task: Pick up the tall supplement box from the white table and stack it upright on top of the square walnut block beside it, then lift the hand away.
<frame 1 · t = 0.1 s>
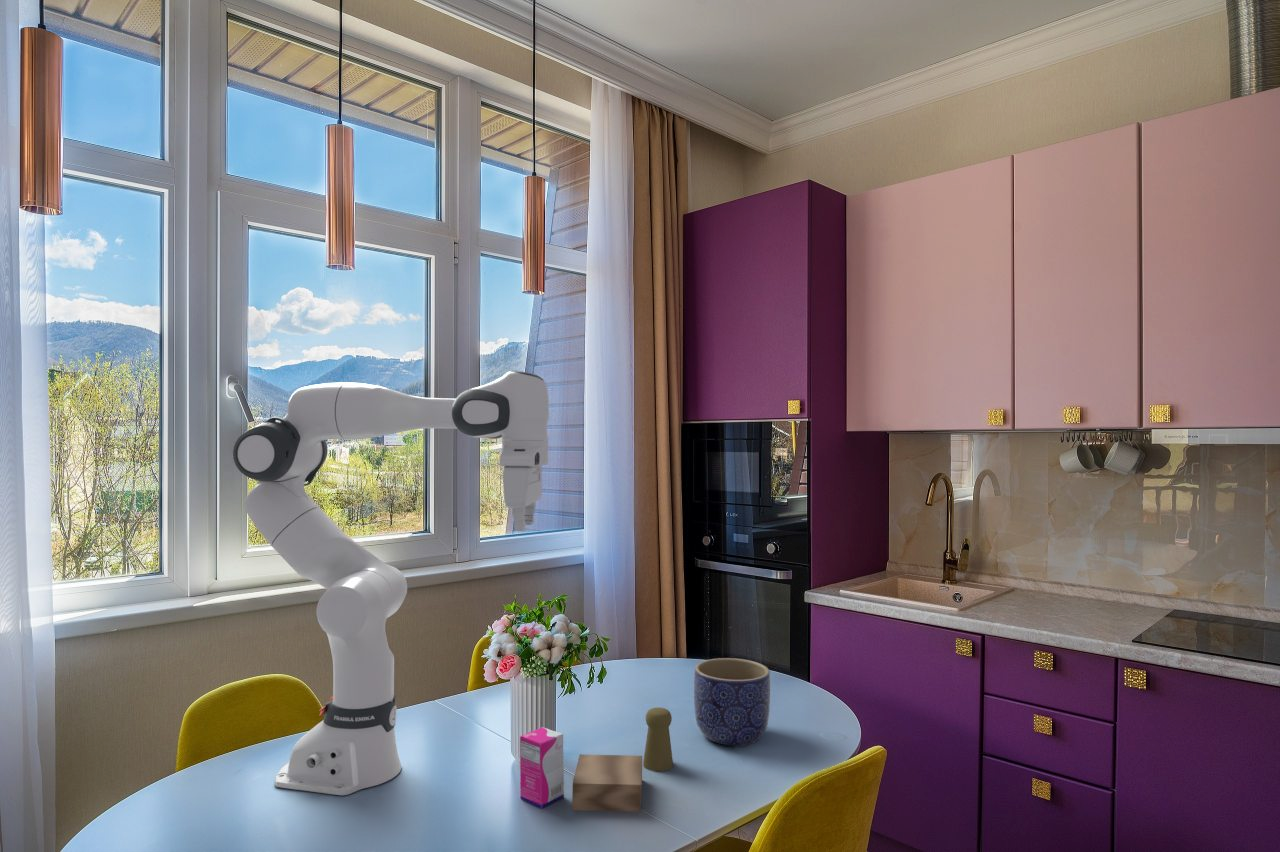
hand: (524, 527, 146), 48 cm above the table, tool pointing down, fingers open, 8 cm apart
olive pawn: (658, 765, 152), on the table
supplement box: (541, 799, 137), on the table
walnut block: (608, 796, 139), on the table
planter: (731, 737, 166), on the table
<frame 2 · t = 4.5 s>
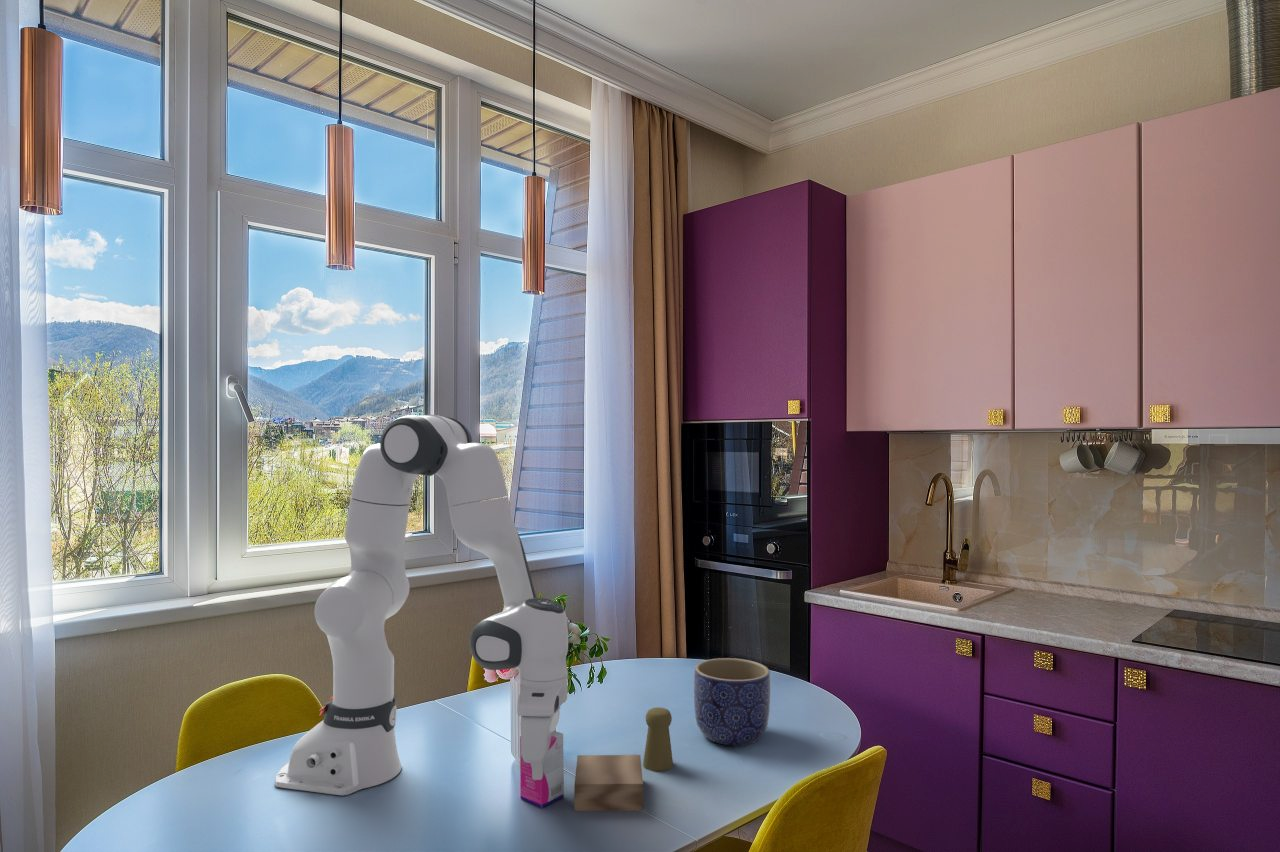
hand: (542, 766, 137), 6 cm above the table, tool pointing down, fingers closed on supplement box, 8 cm apart
supplement box: (541, 798, 137), on the table, touching gripper
everything else where it was.
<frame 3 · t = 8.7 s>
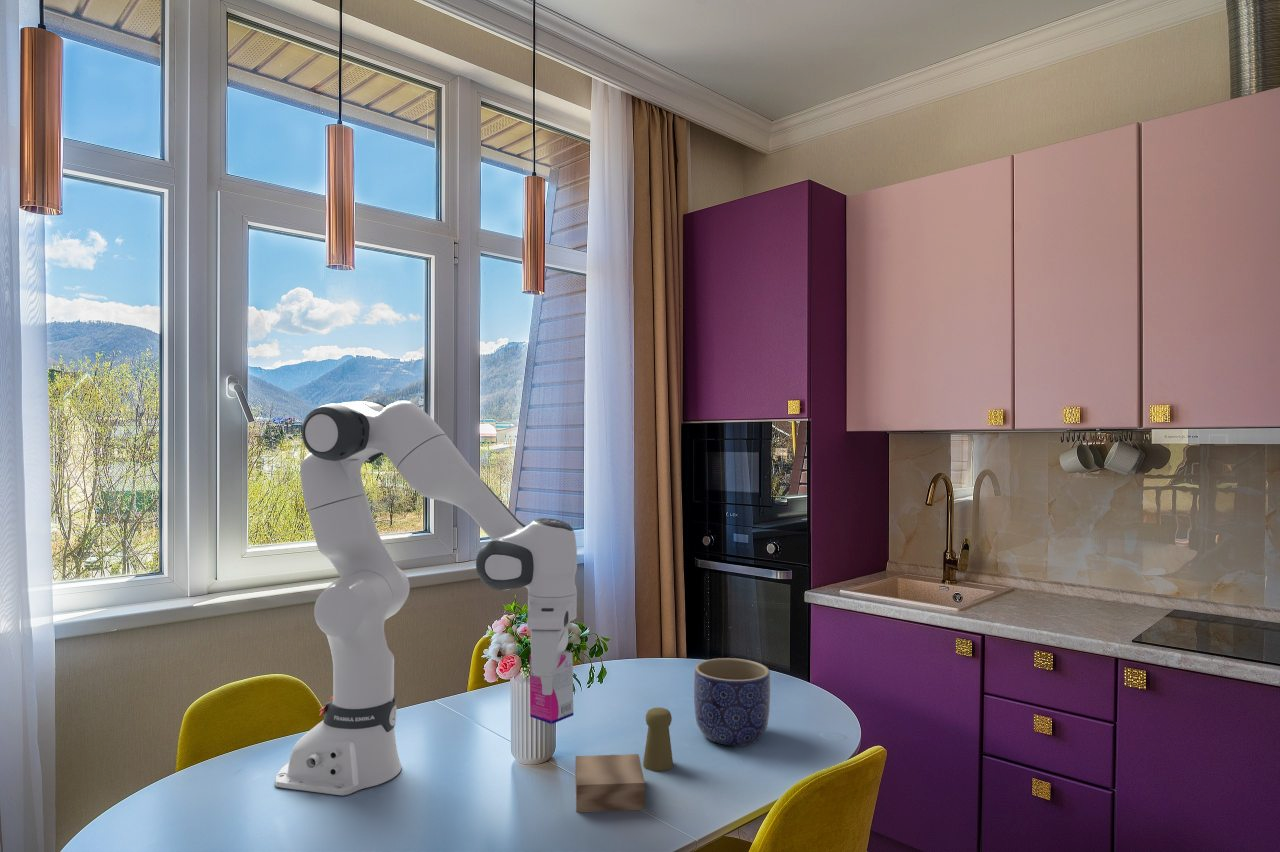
hand: (551, 685, 138), 20 cm above the table, tool pointing down, fingers closed on supplement box, 8 cm apart
supplement box: (551, 717, 138), point 14 cm above the table, touching gripper
everything else where it was.
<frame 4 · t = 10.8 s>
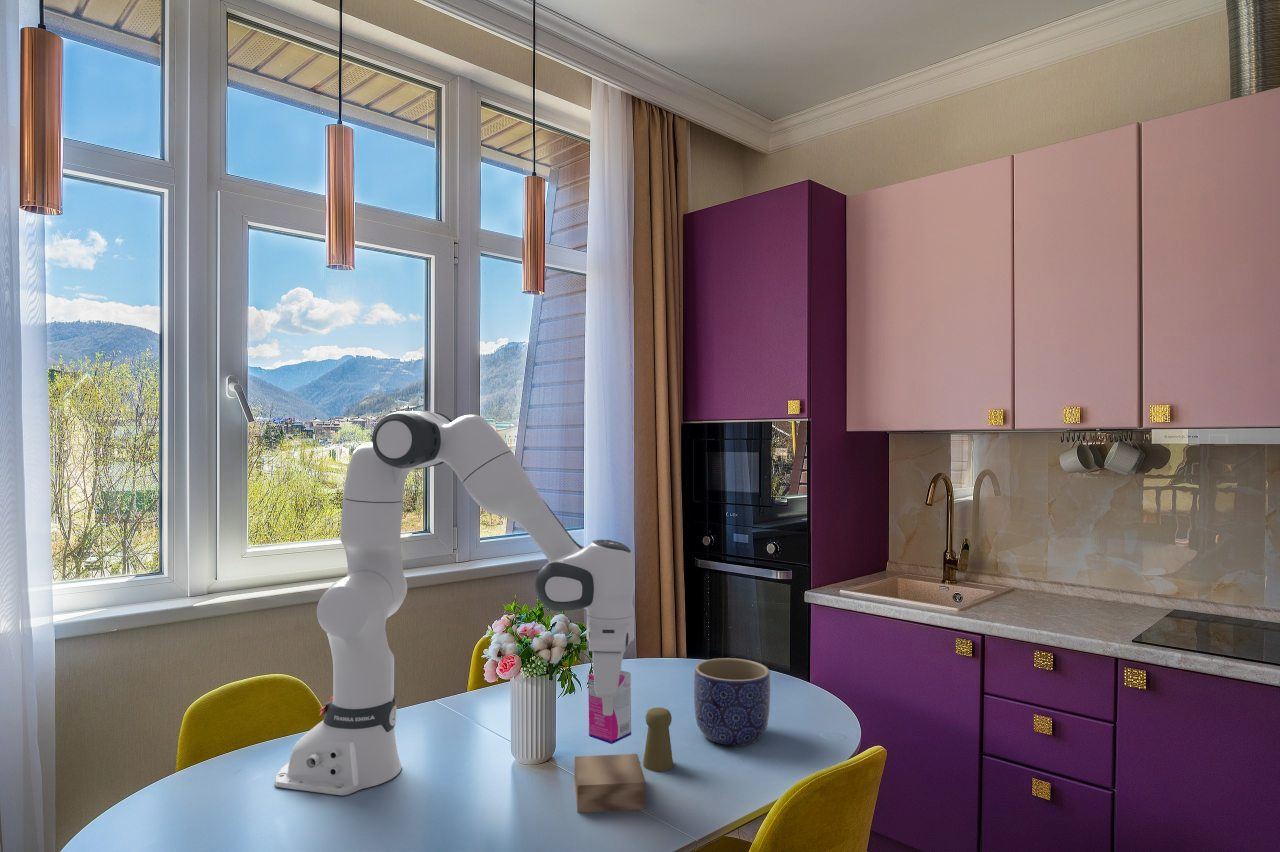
hand: (609, 705, 139), 16 cm above the table, tool pointing down, fingers closed on supplement box, 8 cm apart
supplement box: (609, 736, 139), point 10 cm above the table, touching gripper
everything else where it was.
when the fingers open (11 cm above the table, at t = 13.0 s): supplement box drops 1 cm, resting on walnut block.
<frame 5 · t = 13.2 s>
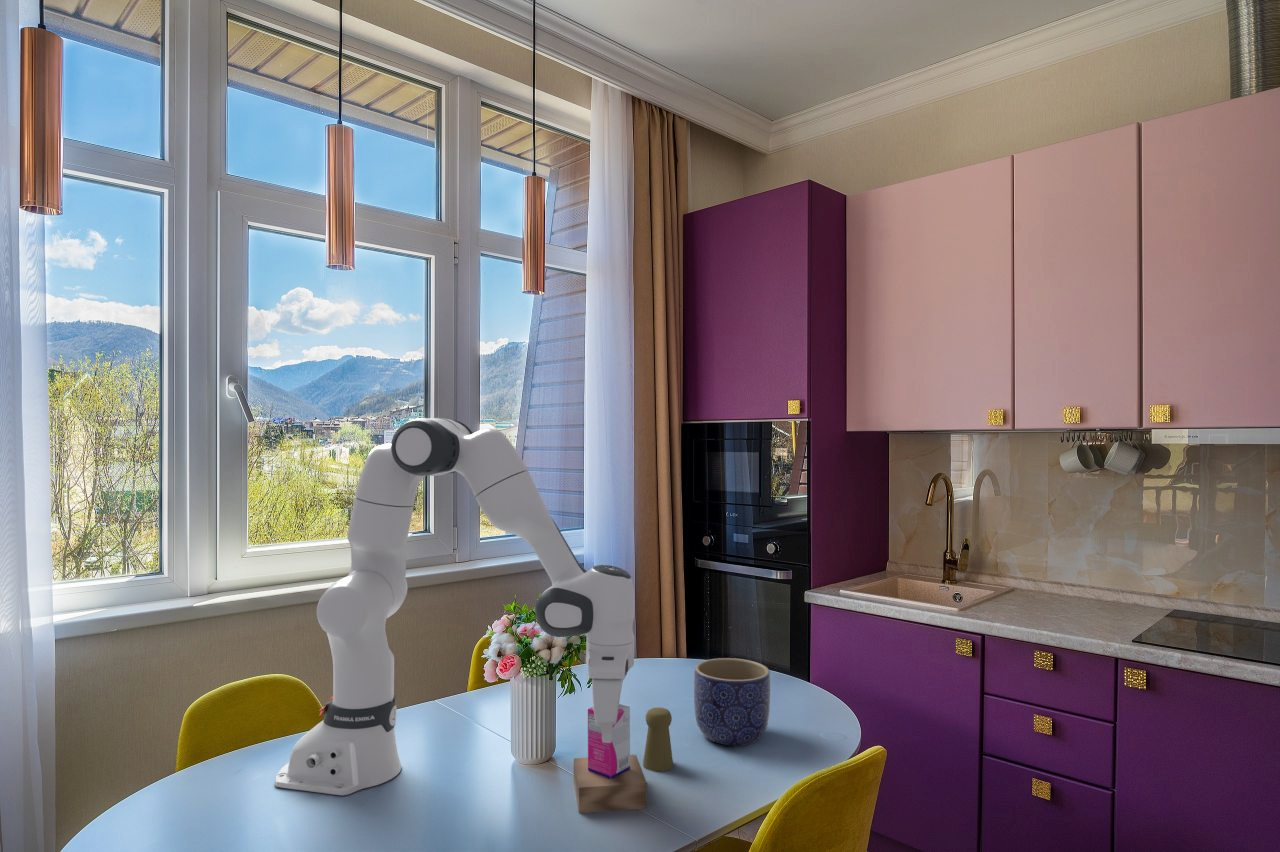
hand: (609, 730, 139), 12 cm above the table, tool pointing down, fingers open, 8 cm apart
supplement box: (608, 770, 139), point 4 cm above the table, touching gripper, walnut block
walnut block: (608, 797, 139), on the table, touching supplement box
everything else where it was.
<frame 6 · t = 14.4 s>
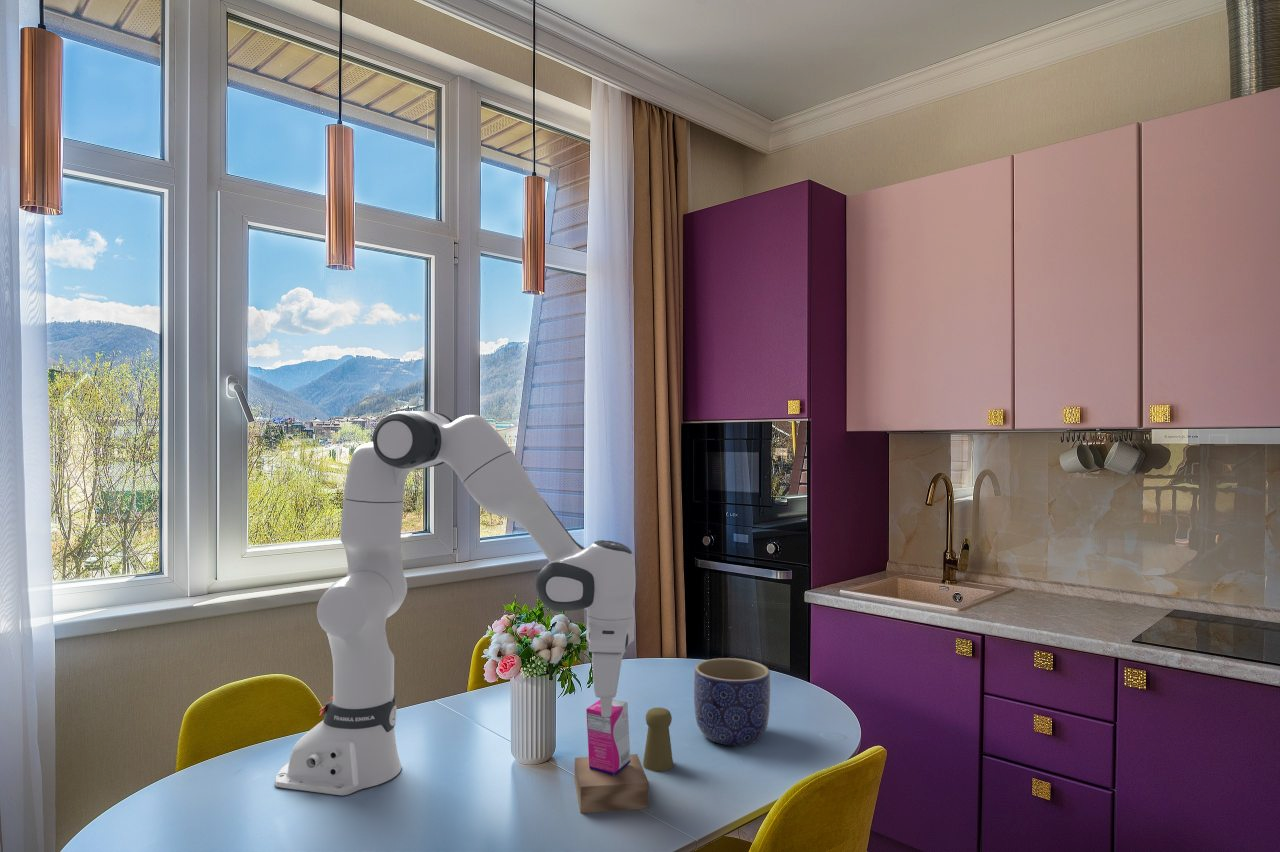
hand: (608, 705, 139), 16 cm above the table, tool pointing down, fingers open, 8 cm apart
supplement box: (609, 766, 140), point 4 cm above the table, touching gripper
walnut block: (610, 797, 139), on the table
everything else where it was.
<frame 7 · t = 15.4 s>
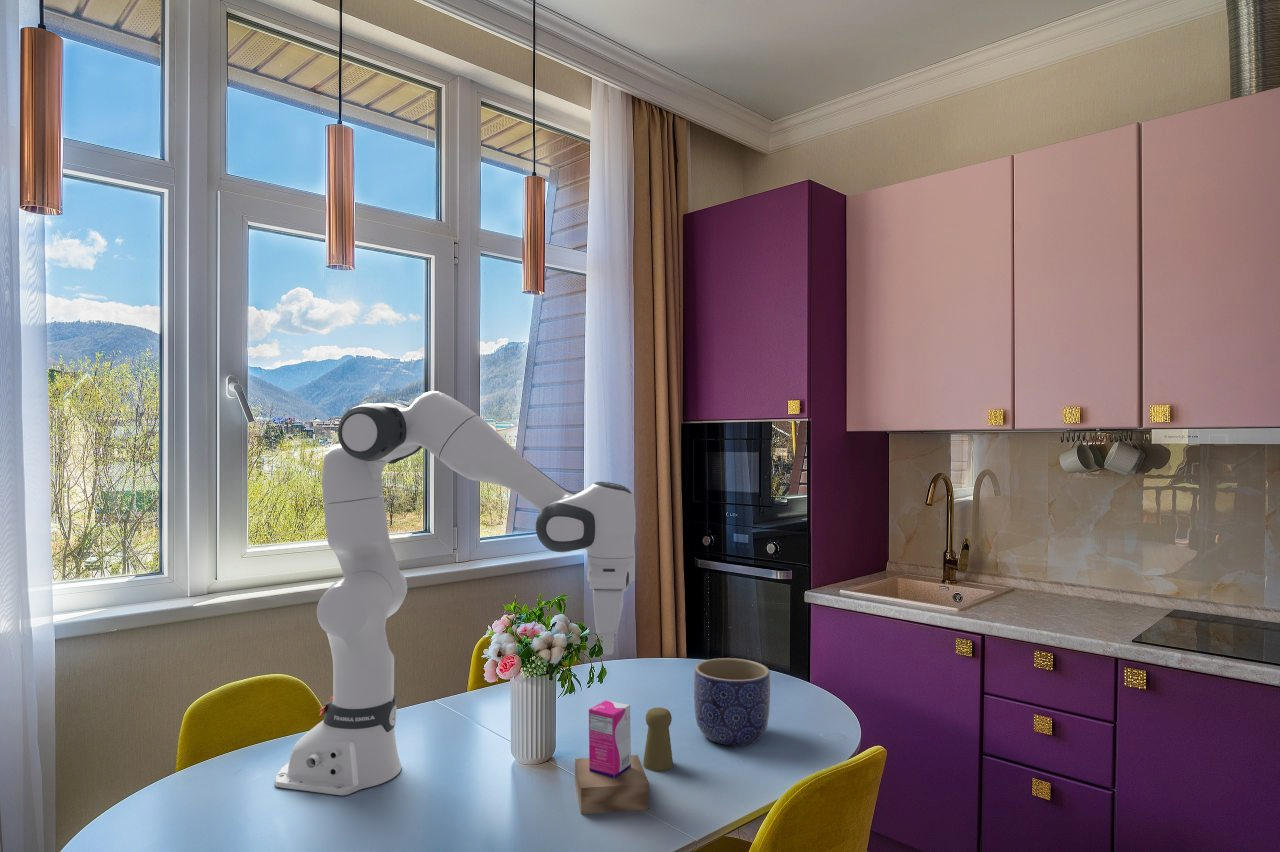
hand: (610, 646, 139), 27 cm above the table, tool pointing down, fingers open, 8 cm apart
supplement box: (609, 770, 139), point 4 cm above the table, touching walnut block
walnut block: (610, 798, 139), on the table, touching supplement box
everything else where it was.
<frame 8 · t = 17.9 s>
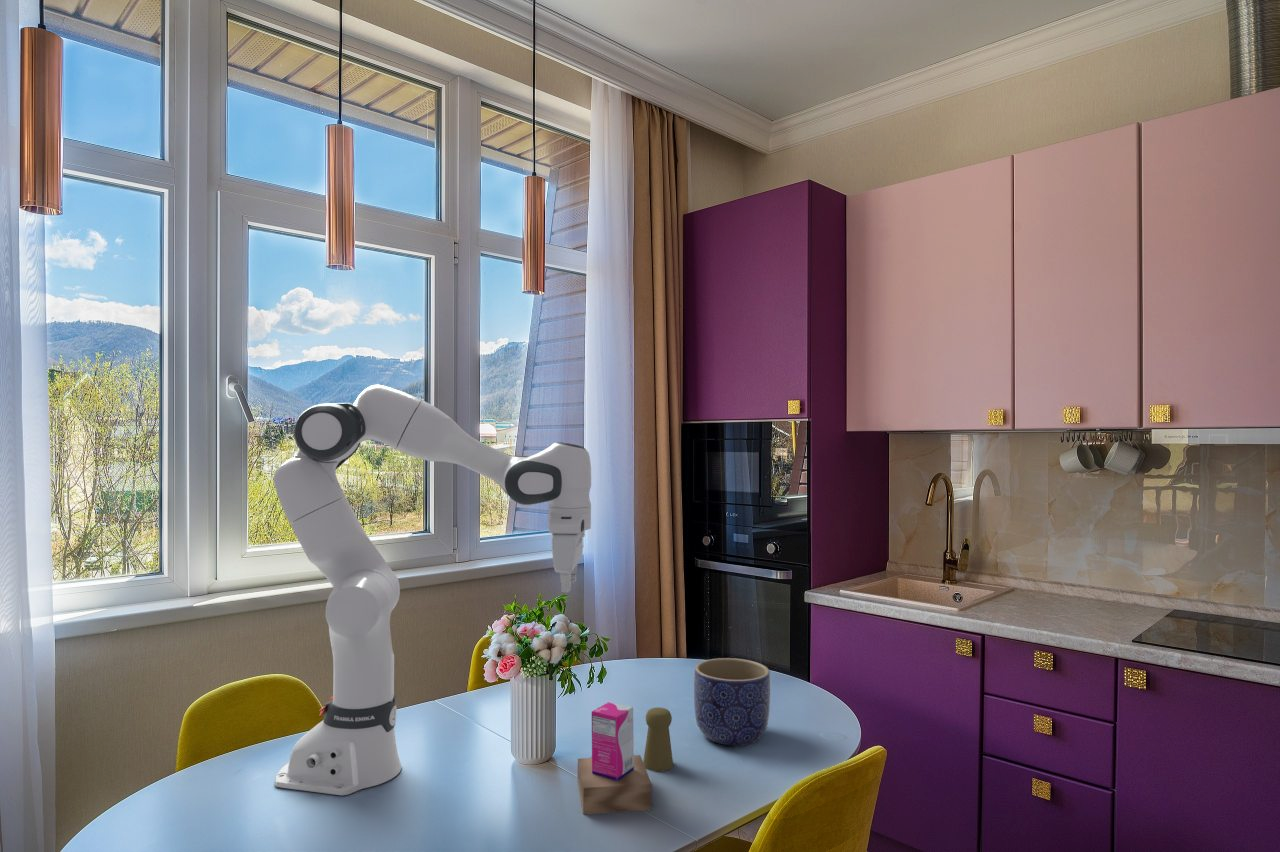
hand: (568, 587, 158), 34 cm above the table, tool pointing down, fingers open, 8 cm apart
supplement box: (612, 772, 138), point 4 cm above the table, touching walnut block
everything else where it was.
at the end: supplement box inside the target area on the walnut block (0.4 cm from its centre), point 4.8 cm above the walnut block's base; supplement box tilted 0°; supplement box touching walnut block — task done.
